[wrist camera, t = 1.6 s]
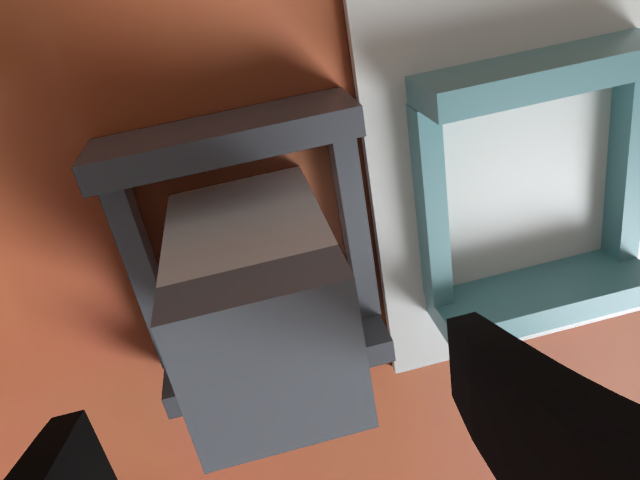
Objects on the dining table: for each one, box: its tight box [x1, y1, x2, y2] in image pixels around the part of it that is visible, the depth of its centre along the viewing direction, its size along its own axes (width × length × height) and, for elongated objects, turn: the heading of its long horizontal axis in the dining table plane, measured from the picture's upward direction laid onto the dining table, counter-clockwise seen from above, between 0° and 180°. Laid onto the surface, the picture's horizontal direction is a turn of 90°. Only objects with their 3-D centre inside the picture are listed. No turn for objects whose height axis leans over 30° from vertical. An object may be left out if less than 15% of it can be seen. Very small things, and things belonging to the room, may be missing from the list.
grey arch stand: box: [72, 87, 396, 419], centre depth 17 cm, size 7×8×2 cm
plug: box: [150, 166, 379, 474], centre depth 15 cm, size 4×4×7 cm
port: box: [343, 0, 640, 374], centre depth 17 cm, size 10×13×3 cm
